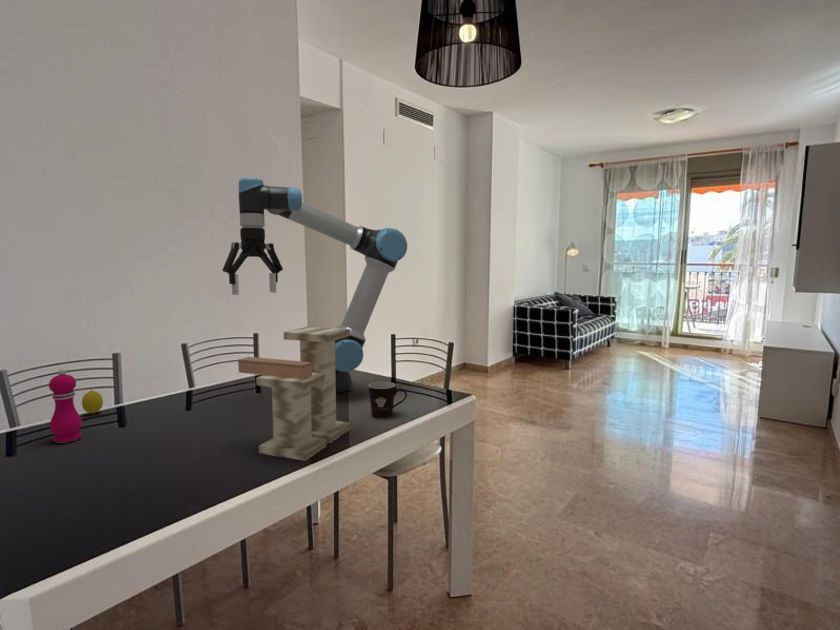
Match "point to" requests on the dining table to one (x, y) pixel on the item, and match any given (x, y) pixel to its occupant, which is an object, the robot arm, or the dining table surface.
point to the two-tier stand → (306, 398)
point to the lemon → (92, 402)
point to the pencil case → (275, 367)
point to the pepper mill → (64, 408)
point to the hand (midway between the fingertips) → (254, 293)
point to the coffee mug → (383, 398)
